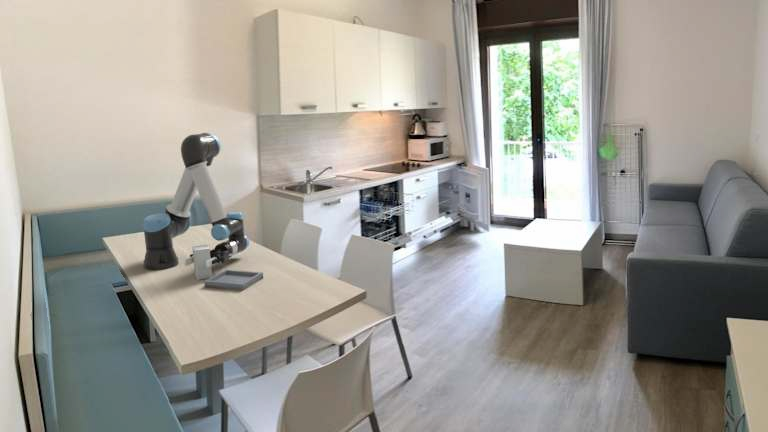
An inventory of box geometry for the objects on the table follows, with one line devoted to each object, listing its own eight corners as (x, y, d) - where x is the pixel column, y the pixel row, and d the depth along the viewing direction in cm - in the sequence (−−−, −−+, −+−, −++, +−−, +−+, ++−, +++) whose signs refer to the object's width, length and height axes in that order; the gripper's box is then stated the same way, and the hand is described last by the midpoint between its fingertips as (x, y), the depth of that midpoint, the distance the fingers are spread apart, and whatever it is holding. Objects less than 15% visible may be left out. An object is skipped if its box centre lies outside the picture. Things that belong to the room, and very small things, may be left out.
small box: (212, 277, 239) (209, 248, 237) (197, 280, 237) (194, 250, 234) (209, 272, 246) (207, 244, 244) (194, 274, 244) (191, 246, 241)
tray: (204, 286, 228) (204, 281, 227) (226, 275, 243) (226, 269, 242) (243, 290, 222) (242, 284, 222) (263, 278, 237) (262, 272, 237)
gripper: (247, 259, 254) (219, 274, 234) (205, 256, 261) (174, 270, 240) (246, 243, 253) (217, 256, 232) (204, 240, 259) (172, 253, 239)
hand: (195, 263), depth 236 cm, fingers closed on small box, 10 cm apart
